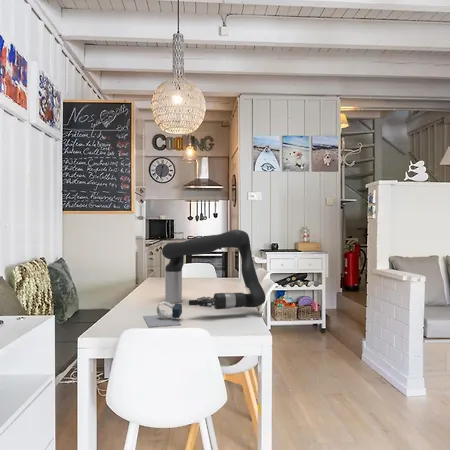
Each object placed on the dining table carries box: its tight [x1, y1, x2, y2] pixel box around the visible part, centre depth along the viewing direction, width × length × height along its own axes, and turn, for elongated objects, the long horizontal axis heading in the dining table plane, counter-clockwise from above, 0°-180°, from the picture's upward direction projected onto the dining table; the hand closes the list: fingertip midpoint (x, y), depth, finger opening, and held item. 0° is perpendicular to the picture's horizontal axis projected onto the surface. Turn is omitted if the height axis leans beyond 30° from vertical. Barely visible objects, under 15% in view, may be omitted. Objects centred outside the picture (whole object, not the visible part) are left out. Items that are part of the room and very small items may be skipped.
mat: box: [142, 313, 182, 329], centre depth 187 cm, size 20×14×1 cm
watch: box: [156, 300, 183, 319], centre depth 189 cm, size 6×8×11 cm
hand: (189, 302), depth 190 cm, fingers closed
